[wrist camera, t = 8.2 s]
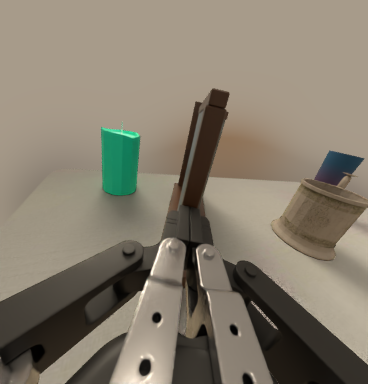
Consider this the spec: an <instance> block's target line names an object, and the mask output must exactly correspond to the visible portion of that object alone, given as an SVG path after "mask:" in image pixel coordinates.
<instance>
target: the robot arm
mask: <svg viewBox="0 0 368 384" xmlns="http://www.w3.org/2000/svg"><path fill="white" fill-rule="evenodd" d="M183 270H186V282H185V288H186V310H187V327H186V334H185V336H184V335H182V334H180V333H178V326H179V318H180V309H181V301H182V292H183V285H182V277H183ZM138 291H142V293H141V296H140V299H139V302H138V304H137V307H136V310H135V313H134V316H133V318H132V321H131V324H130V327H129V330H128V332H127V333H124V334H122V335H120V336H118V337H116V338H114V339H113V340H111V341H109V342H108V343H107V344H106V345H104V346H103V347H102V348H101V349H100V350H98V351H97V352H96V353H95V354H94V355H93V356H92V357H91V358H90V359H89V360H88V361H87V362H86V363H85V364H84V365H83V366H82V367H81V368H80V369H79V370H78V371H77V372H76V373H75V374H74V375H73V376H72V377H71V378H70V379H69V380H68V381H67V382H66V383H65V384H278V383H279V384H368V365H367V364H366V363H365V362H364V361H363V360H362V359H361V358H359V357H358V356H357V355H356V354H355V353H354V352H353V351H352V350H350V349H349V348H348V347H347V346H346V345H345V344H344V343H343V342H341V341H340V340H339V339H338V338H337V337H336V336H335V335H333V334H332V333H331V332H330V331H329V330H328V329H327V328H326V327H324V326H323V325H322V324H321V323H320V322H319V321H318V320H317V319H315V318H314V317H313V316H312V315H311V314H310V313H309V312H307V311H306V310H305V309H304V308H303V307H302V306H301V305H300V304H298V303H297V302H296V301H295V300H294V299H293V298H292V297H291V296H289V295H288V294H287V293H286V292H285V291H284V290H283V289H281V288H280V287H279V286H278V285H277V284H276V283H275V282H274V281H272V280H271V279H270V278H269V277H268V276H267V275H266V274H265V273H263V272H262V271H261V270H260V269H259V268H258V267H257V266H255V265H254V264H252V263H251V262H248V261H239V262H238V263H237V264H236V265H234V264H232V263H230V262H228V261H225V260H224V259H222V256H221V254H220V252H219V251H218V249H217V248H215V247H214V245H213V240H212V234H211V229H210V224H209V221H208V219H207V218H206V217H205V216H201V214H200V209H199V208H194V207H189V206H184V205H180V206H179V211H175V210H171V211H170V212H169V213H168V216H167V220H166V224H165V228H164V232H163V237H162V240H161V241H160V242H159V243H158V244H156V245H154V246H150V247H143V246H142V245H141V244H140V243H139V242H137V241H133V240H128V241H123V242H121V243H119V244H117V245H115V246H113V247H111V248H109V249H107V250H105V251H103V252H101V253H99V254H97V255H95V256H93V257H90V258H88V259H86V260H84V261H82V262H80V263H78V264H76V265H74V266H72V267H70V268H68V269H66V270H64V271H62V272H60V273H58V274H56V275H54V276H52V277H50V278H48V279H46V280H44V281H42V282H40V283H38V284H35V285H33V286H31V287H29V288H27V289H25V290H23V291H21V292H19V293H17V294H15V295H13V296H11V297H9V298H7V299H5V300H3V301H1V302H0V384H38V382H39V375H40V374H41V373H42V372H43V371H44V370H46V369H47V368H48V367H49V366H50V365H52V364H53V363H54V362H55V361H56V360H58V359H59V358H60V357H61V356H62V355H64V354H65V353H66V352H67V351H68V350H70V349H71V348H72V347H73V346H74V345H76V344H77V343H78V342H79V341H81V340H82V339H83V338H84V337H85V336H87V335H88V334H89V333H90V332H91V331H93V330H94V329H95V328H96V327H97V326H99V325H100V324H101V323H102V322H103V321H105V320H106V319H107V318H108V317H110V316H111V315H112V314H113V313H114V312H116V311H117V310H118V309H119V308H120V307H122V306H123V305H124V304H125V303H126V302H128V301H129V300H130V299H131V298H132V297H134V296H135V295H136V293H137V292H138ZM251 301H253V302H254V303H255V304H256V305H257V306H258V307H259V308H260V309H261V310H262V311H263V313H264V314H265V315H266V316H267V317H268V318H269V319H270V320H271V321H272V322H273V323H274V324H275V326H276V327H277V328H278V330H277V329H275V328H274V327H273V326H272V325H271V324H270V323H269V322H268V321H267V320H266V319H265V318H264V317H263V316H262V315H261V313H260V312H259V311H258V310H257V309H256V308H255V307H254V306H253V305H252V304H251ZM269 371H270V372H269ZM272 375H273V376H272ZM275 379H276V380H275Z"/></svg>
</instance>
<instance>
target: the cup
mask: <svg viewBox="0 0 368 384" xmlns="http://www.w3.org/2000/svg"><path fill="white" fill-rule="evenodd" d="M363 160H364V158H360V157H356V156H352V155H347V154H343V153H339V152H334V151H329V153H328V154H327V156H326V158H325V160H324V162H323V164H322V166H321V167H320V169H319V171H318V173H317V175H316V177H315V179H314V180H317V181H320V182H324V183H327V184H331V185H334V186H337V185H338V184H339V183H340V181H341V180H342V179H343V178H344V177H345V176H347V175H346V174H344V173H348V174H352V173H353V172H354V171H355V170H356V168H357V167H358V166H359V165H360V164H361V162H362V161H363ZM343 172H344V173H343Z"/></svg>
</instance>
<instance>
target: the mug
mask: <svg viewBox="0 0 368 384" xmlns="http://www.w3.org/2000/svg"><path fill="white" fill-rule="evenodd" d="M343 173H344V172H343ZM344 174H346V175H347V176H345V177H344V178H343V179H342V180H341V181H340V183H339V184H338V185H337V186H334V185H331V184H327V183H324V182H320V181H317V180H312V179H305V178H304V179H302V180H301V185H300V186H299V188H298V190H297V191H296V193H295V195H294V196H293V198H292V200H291V202H290V203H289V205H288V207H287V208H286V210H285V212H284V213H283V215H282V216H281V217H280V218H279V219H276V220H274V221H272V223H271V226H272V229H273V231H274V232H275V233H276V234H277V236H279V237H280V238H281V239H282V240H283V241H284V242H285V243H287V244H288V245H290V246H291V247H293V248H294V249H296V250H298V251H300V252H302V253H304V254H306V255H308V256H311V257H313V258H316V259H320V260H326V261H328V260H333V259H334V258H335V256H336V254H335V251H334V247H335V246H336V243H337V242H338V241H339V239H340V238H341V237H342V236H343V235H344V234H345V232H346V231H347V230H348V229H349V228H350V227H351V226H352V224H353V223H354V222H355V221H356V220H357V219H358V217H359V216H360V215H361V214H362V213H363V212H364V210H365V209H366V208H368V199H366V198H364V197H362V196H360V195H358V194H355V193H353V192H350V191H348V190H345V187H346V186H347V185H348V183H349V182H350V180H351V176H353V177H357V176H355V175H352V174H348V173H344Z"/></svg>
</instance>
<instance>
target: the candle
mask: <svg viewBox="0 0 368 384" xmlns="http://www.w3.org/2000/svg"><path fill="white" fill-rule="evenodd" d="M122 126H123V122H122ZM101 138H102V179H103V189H104V191H105V192H107V193H109V194H112V195H120V196H122V195H129V194H131V193H133V192H135V190H136V184H137V171H138V159H139V146H140V136H139V135H138V133H136V132H131V131H124V130H122V128H121V130H113V129H106V128H103V127H101Z"/></svg>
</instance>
